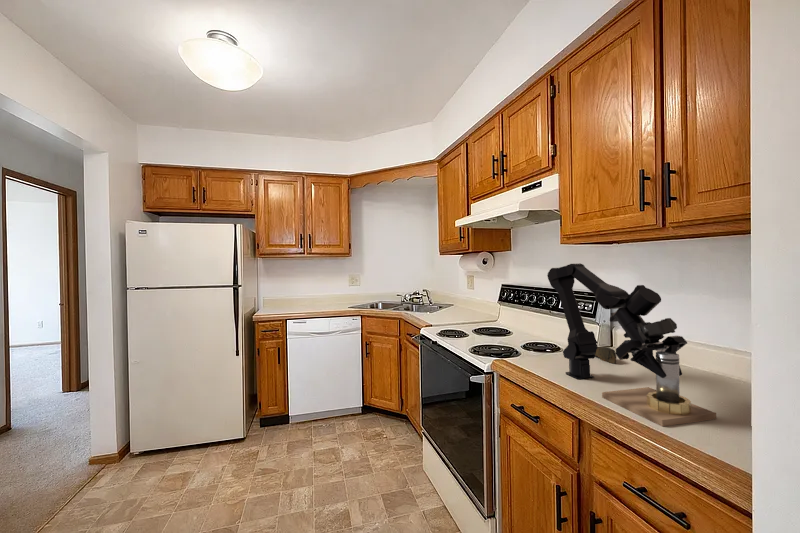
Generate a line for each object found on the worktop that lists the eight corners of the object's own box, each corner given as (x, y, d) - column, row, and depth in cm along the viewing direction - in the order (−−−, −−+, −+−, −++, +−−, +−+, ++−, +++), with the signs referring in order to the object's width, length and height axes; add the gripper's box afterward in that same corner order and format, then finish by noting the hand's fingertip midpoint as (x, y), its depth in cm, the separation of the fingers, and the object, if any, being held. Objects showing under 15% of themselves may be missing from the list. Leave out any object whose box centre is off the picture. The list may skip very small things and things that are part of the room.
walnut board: (602, 397, 103) (602, 392, 103) (648, 392, 106) (648, 387, 106) (662, 426, 85) (662, 420, 85) (716, 419, 88) (716, 412, 88)
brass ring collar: (639, 402, 95) (639, 393, 95) (666, 399, 97) (666, 390, 97) (670, 416, 86) (670, 406, 86) (699, 412, 88) (699, 402, 88)
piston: (653, 395, 95) (652, 350, 95) (674, 397, 93) (674, 351, 93) (660, 402, 90) (660, 355, 90) (683, 404, 89) (683, 356, 88)
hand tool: (574, 350, 158) (574, 338, 157) (585, 350, 158) (585, 337, 158) (607, 365, 135) (607, 351, 135) (619, 365, 135) (619, 350, 135)
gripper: (623, 310, 93) (664, 363, 82) (679, 306, 97) (725, 356, 87) (600, 334, 101) (635, 385, 90) (653, 329, 105) (692, 378, 95)
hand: (672, 376), depth 90 cm, fingers closed on piston, 5 cm apart
